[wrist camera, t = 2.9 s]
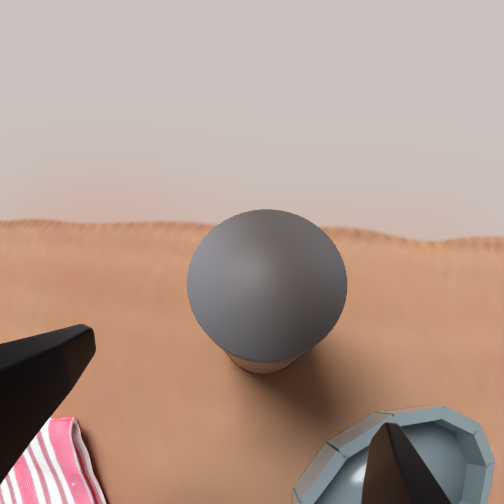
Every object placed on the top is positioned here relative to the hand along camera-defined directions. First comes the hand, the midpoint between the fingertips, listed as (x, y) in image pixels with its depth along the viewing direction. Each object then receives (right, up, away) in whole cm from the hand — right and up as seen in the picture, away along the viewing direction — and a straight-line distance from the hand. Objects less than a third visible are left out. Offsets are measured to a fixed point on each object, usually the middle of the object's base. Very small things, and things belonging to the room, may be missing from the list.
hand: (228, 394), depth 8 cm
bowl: (+10, -13, +6) cm, 17 cm away
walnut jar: (+1, -1, +12) cm, 12 cm away
